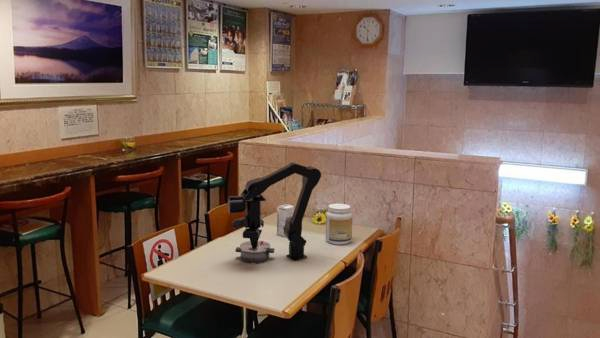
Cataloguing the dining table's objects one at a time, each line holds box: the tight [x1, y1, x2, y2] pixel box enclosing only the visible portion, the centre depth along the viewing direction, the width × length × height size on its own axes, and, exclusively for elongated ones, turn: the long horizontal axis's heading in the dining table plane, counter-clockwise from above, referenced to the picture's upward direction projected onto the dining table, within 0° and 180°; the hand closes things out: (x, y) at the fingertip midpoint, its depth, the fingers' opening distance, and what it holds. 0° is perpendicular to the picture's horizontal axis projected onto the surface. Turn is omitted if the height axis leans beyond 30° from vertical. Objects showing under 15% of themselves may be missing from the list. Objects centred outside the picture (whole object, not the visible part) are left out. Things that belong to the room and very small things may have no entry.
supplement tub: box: [325, 203, 353, 246], centre depth 231 cm, size 12×12×17 cm
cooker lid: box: [239, 240, 271, 253], centre depth 208 cm, size 13×13×3 cm
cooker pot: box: [235, 246, 275, 264], centre depth 209 cm, size 13×14×4 cm
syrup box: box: [276, 203, 295, 238], centre depth 240 cm, size 6×6×14 cm
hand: (253, 248), depth 204 cm, fingers closed
